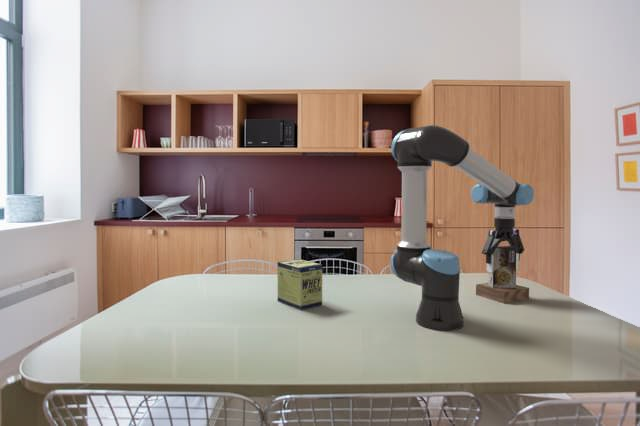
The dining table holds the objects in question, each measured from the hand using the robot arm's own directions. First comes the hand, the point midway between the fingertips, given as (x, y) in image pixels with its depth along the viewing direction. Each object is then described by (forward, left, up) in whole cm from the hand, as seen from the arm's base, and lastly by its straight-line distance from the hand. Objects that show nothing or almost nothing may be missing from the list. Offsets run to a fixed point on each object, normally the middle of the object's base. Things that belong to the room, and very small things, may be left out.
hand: (502, 270), depth 174 cm
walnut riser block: (0, 0, -11) cm, 11 cm away
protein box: (-78, +24, -11) cm, 82 cm away
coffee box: (0, 0, -7) cm, 7 cm away
